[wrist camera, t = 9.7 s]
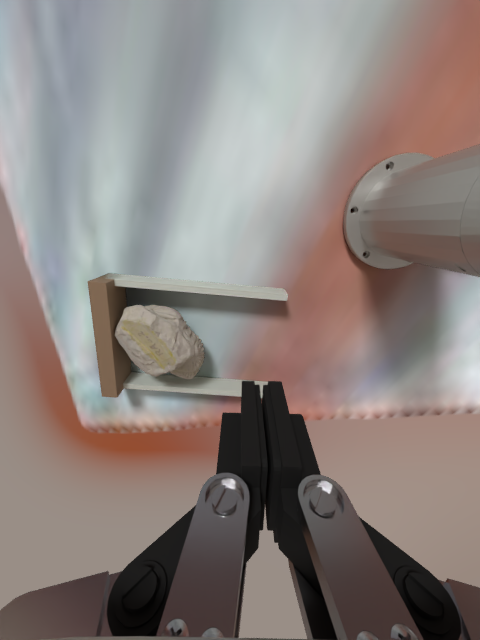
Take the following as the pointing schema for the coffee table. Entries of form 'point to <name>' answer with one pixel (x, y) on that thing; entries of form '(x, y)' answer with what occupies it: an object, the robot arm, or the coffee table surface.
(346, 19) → the coffee table surface
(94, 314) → the channel
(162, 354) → the fossil replica
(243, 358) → the coffee table surface
